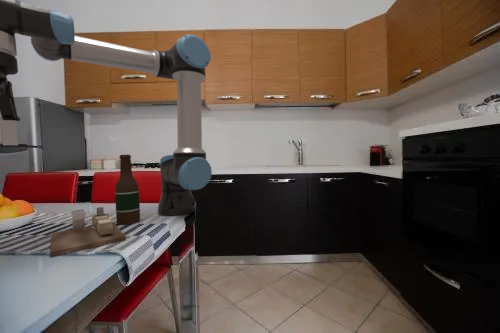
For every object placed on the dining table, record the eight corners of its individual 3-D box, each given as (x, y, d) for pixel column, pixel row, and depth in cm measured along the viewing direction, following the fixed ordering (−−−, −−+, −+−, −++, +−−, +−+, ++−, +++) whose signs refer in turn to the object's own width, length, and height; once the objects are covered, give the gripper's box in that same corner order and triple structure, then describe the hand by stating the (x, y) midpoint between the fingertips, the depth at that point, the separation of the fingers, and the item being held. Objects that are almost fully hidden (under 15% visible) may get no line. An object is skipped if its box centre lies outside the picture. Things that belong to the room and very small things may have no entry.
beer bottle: (124, 219, 88) (120, 154, 87) (144, 218, 88) (141, 154, 87) (111, 225, 81) (107, 155, 79) (133, 225, 80) (129, 154, 79)
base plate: (113, 225, 80) (113, 222, 80) (125, 240, 66) (125, 236, 66) (52, 236, 70) (52, 233, 70) (50, 257, 56) (50, 252, 56)
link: (91, 224, 75) (90, 207, 75) (107, 221, 78) (106, 205, 78) (97, 235, 64) (96, 216, 64) (115, 232, 67) (114, 213, 67)
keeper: (108, 223, 79) (107, 205, 79) (111, 227, 74) (110, 209, 74) (73, 229, 73) (71, 210, 73) (74, 234, 68) (72, 214, 68)
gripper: (-10, 67, 64) (-3, 146, 65) (-59, 23, 43) (-47, 140, 44) (28, 72, 68) (34, 146, 69) (-1, 34, 47) (9, 140, 49)
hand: (2, 144), depth 57 cm, fingers open, 13 cm apart
